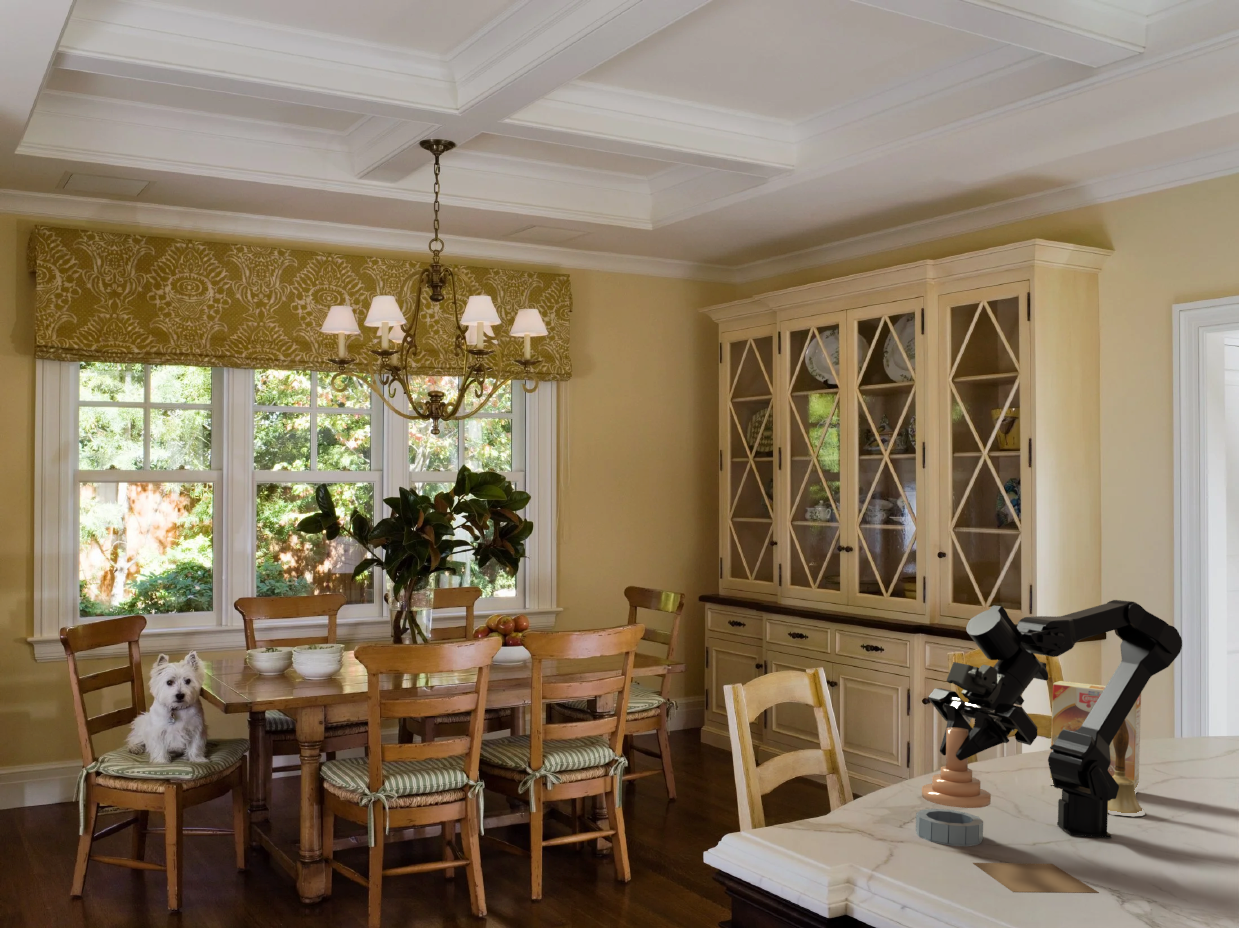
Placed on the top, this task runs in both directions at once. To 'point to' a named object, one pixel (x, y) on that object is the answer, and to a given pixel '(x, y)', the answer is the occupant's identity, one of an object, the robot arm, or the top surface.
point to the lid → (956, 778)
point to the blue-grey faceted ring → (949, 827)
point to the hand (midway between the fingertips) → (949, 756)
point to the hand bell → (1123, 776)
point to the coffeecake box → (1073, 710)
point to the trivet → (1034, 878)
